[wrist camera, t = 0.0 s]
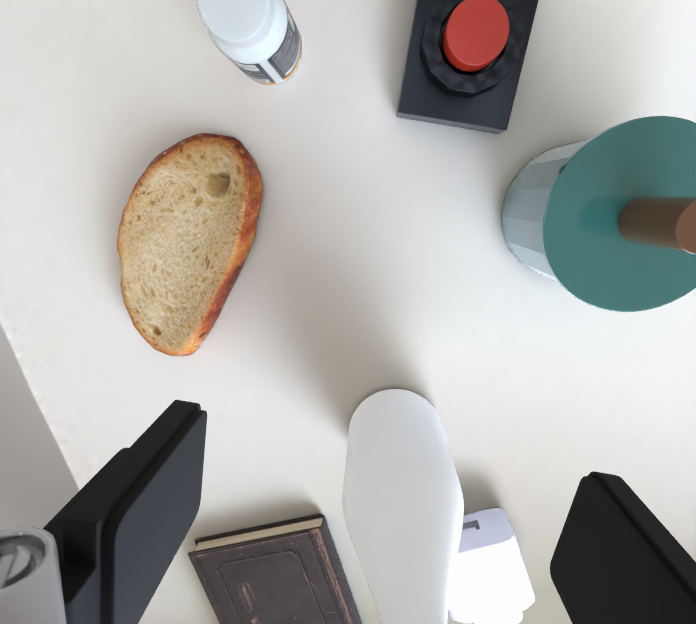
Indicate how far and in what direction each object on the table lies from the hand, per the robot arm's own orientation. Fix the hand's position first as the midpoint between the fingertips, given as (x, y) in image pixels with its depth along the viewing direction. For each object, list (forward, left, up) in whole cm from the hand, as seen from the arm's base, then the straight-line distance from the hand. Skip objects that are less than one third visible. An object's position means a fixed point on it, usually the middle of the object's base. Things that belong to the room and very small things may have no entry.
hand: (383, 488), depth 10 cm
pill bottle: (-17, -12, -31) cm, 38 cm away
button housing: (-19, +4, -31) cm, 37 cm away
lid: (-8, +16, -21) cm, 27 cm away
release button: (-19, +4, -28) cm, 34 cm away
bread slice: (+1, -17, -31) cm, 36 cm away
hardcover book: (+42, -3, -31) cm, 53 cm away
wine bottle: (+16, +5, -31) cm, 36 cm away
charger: (+32, +18, -31) cm, 48 cm away
